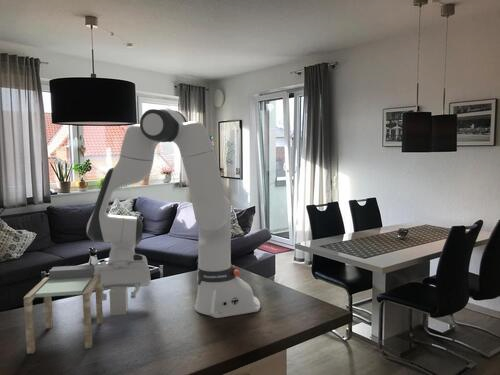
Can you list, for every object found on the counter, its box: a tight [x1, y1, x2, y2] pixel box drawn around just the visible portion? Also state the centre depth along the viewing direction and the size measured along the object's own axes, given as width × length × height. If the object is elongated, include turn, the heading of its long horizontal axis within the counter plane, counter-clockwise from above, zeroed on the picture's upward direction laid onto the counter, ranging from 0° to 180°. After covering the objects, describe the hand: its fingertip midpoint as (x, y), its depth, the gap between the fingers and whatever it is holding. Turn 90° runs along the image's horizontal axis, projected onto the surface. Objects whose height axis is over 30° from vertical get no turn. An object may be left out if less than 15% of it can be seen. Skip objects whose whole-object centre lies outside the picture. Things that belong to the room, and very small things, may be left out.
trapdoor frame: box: [23, 274, 104, 355], centre depth 115 cm, size 16×17×16 cm
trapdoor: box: [35, 264, 95, 298], centre depth 116 cm, size 12×16×4 cm
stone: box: [109, 286, 129, 316], centre depth 133 cm, size 5×5×8 cm
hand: (118, 298), depth 132 cm, fingers open, 8 cm apart
